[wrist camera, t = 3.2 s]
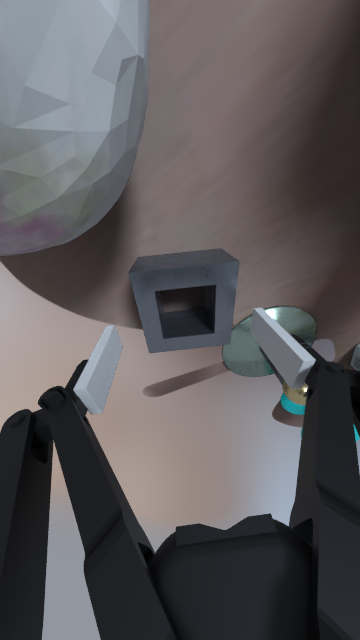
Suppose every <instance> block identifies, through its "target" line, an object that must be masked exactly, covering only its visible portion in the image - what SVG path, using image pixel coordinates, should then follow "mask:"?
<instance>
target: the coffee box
mask: <svg viewBox="0 0 360 640" xmlns="http://www.w3.org/2000/svg"><path fill="white" fill-rule="evenodd" d="M350 365H351V366H352V367H353V368H354V369H356V370H357V371H360V344H358V345H356V347H355V350H354V353H353V357H352V360H351V363H350Z"/></svg>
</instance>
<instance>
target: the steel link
mask: <svg viewBox="0 0 360 640" xmlns="http://www.w3.org/2000/svg"><path fill="white" fill-rule="evenodd" d="M238 268H239V260H237V259H236V258H234V257H233V256H231V255H230V254H229V253H227V252H226V251H224V250H223V249H221V248H220V249H211V250H201V251H192V252H183V253H173V254H164V255H155V256H145V257H138V258H137V260H136V261H135V263H134V265H133V266H132V268H131V269H130V271H129V272H128V274H129V278H130V282H131V285H132V289H133V293H134V297H135V301H136V304H137V308H138V312H139V316H140V319H141V323H142V327H143V331H144V334H145V338H146V342H147V345H148V349H149V353H156V352H165V351H174V350H182V349H192V348H201V347H211V346H220V345H229V344H230V343H231V333H232V324H233V315H234V305H235V296H236V286H237V277H238ZM198 286H205V308H202V309H192V310H183V311H174V312H165V313H164V308H163V302H162V296H161V290H170V289H179V288H189V287H198Z"/></svg>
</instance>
